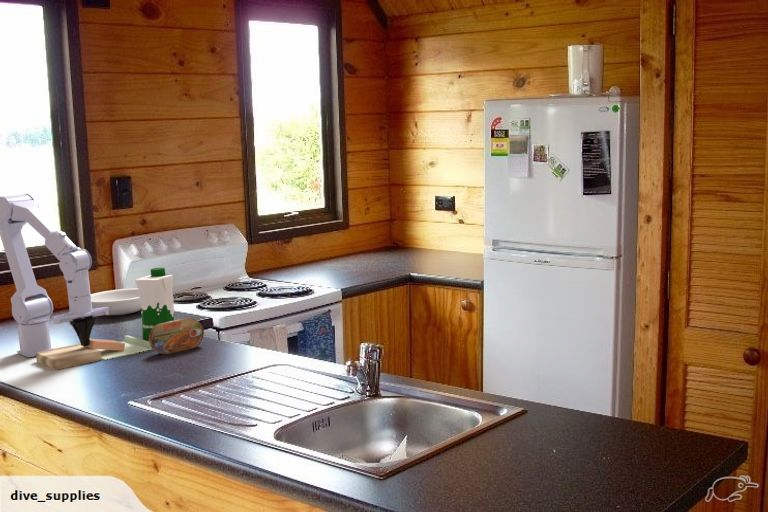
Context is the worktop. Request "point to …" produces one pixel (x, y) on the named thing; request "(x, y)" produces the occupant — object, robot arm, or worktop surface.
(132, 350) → the mat
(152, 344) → the tin
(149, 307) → the milk carton
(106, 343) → the tile
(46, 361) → the wooden board
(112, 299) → the soup bowl
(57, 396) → the worktop surface
